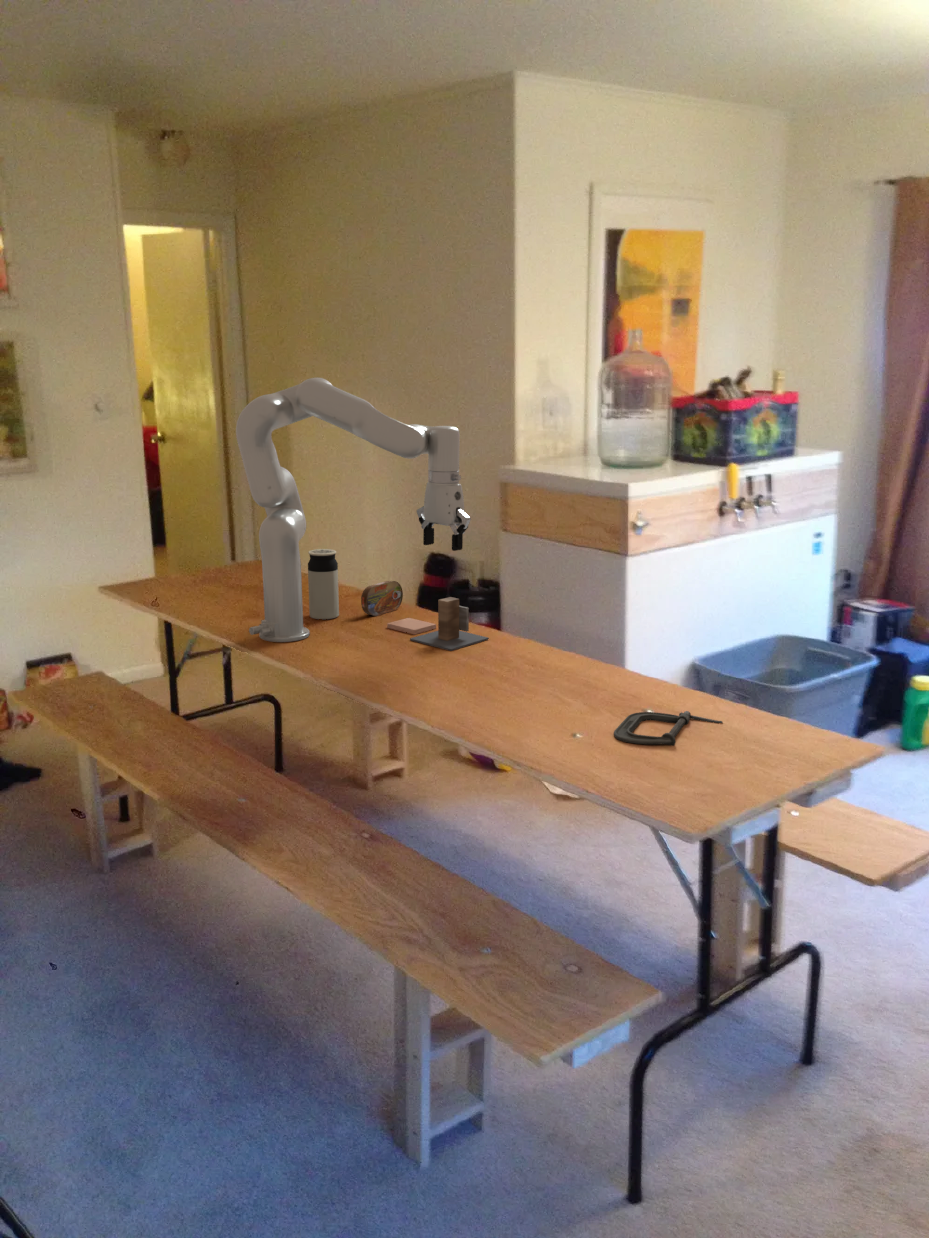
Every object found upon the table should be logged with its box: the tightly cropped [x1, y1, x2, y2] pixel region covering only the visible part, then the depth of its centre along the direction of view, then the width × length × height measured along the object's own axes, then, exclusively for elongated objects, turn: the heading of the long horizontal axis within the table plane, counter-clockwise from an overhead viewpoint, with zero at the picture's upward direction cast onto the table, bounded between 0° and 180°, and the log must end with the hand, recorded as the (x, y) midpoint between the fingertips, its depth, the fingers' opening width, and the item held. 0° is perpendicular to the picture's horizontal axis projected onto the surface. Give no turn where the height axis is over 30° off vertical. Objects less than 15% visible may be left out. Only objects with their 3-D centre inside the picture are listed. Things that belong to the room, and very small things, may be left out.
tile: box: [386, 617, 437, 636], centre depth 279 cm, size 2×10×8 cm
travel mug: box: [307, 548, 340, 621], centre depth 288 cm, size 8×8×18 cm
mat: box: [409, 630, 490, 652], centre depth 268 cm, size 14×14×1 cm
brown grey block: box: [437, 596, 470, 641], centre depth 267 cm, size 5×8×10 cm, turn 47°
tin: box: [360, 580, 404, 617], centre depth 294 cm, size 15×3×8 cm, turn 143°
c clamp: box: [613, 710, 724, 747], centre depth 206 cm, size 20×17×3 cm
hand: (442, 547), depth 263 cm, fingers open, 9 cm apart
